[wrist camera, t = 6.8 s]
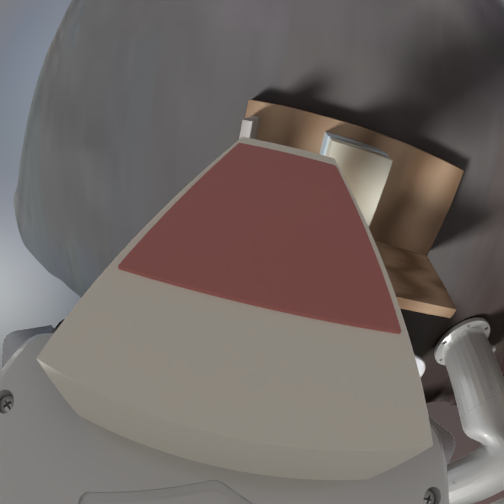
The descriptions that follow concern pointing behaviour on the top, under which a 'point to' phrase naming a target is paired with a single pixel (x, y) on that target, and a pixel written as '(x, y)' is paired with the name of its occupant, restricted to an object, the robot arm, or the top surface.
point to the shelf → (395, 205)
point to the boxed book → (250, 329)
